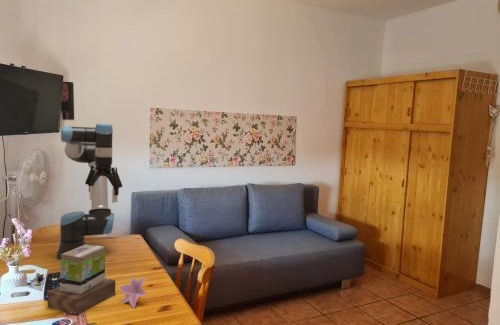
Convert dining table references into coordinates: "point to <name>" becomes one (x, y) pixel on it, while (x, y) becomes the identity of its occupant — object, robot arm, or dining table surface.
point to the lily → (133, 291)
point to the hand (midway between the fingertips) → (103, 200)
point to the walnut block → (81, 297)
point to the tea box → (82, 268)
